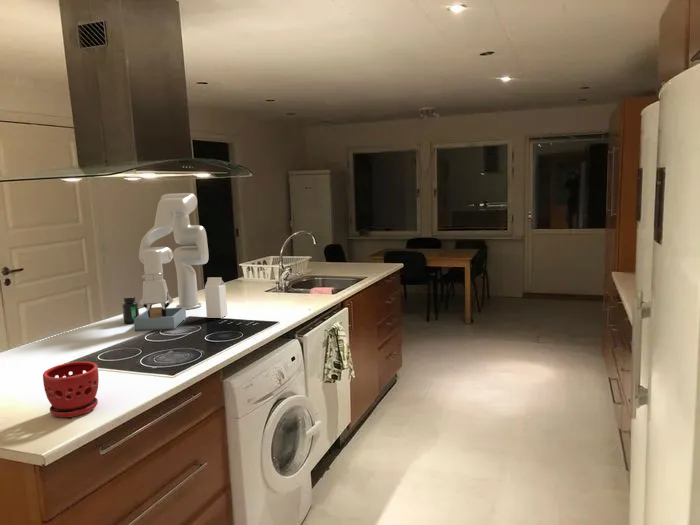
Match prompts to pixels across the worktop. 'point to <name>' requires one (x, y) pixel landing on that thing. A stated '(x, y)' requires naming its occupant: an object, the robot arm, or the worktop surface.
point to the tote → (160, 320)
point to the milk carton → (215, 298)
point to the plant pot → (71, 388)
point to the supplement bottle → (130, 310)
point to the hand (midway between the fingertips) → (157, 317)
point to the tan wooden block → (156, 312)
